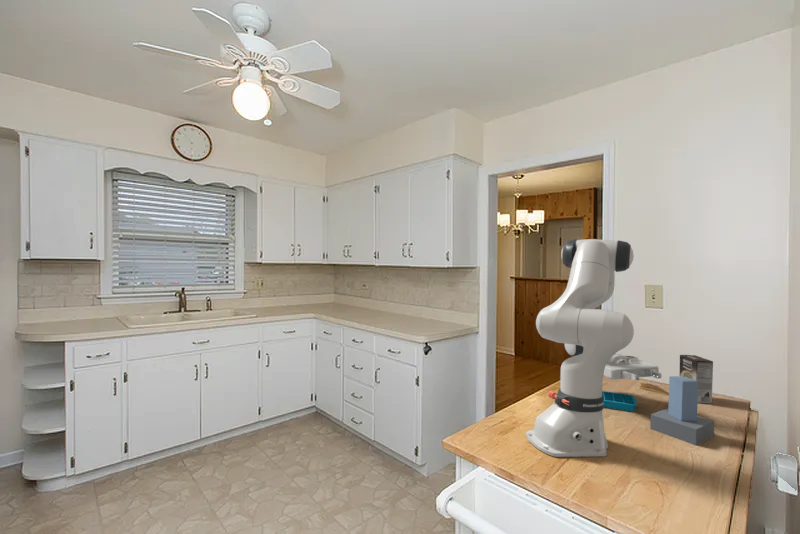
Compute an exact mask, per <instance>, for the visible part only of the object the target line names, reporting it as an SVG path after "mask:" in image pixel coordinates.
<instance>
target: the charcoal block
mask: <svg viewBox="0 0 800 534" xmlns="http://www.w3.org/2000/svg"><path fill="white" fill-rule="evenodd" d="M668 408H669V407H667V408H665V409H662V410H659V411H657V412H656V411H655V412H653V413H651V414H650V424H649V425H650V429H649V430H652V431H655V432H658V433H660V434H662V435H666V436H669V437H671V438H674V439H677V440H680V441H681V442H685V443H688V444H691V445H694V446H697V445H699V444H702V443H704V442H705V441H707V440H709V439H711V438H714V437H715V420H713V419H709V418H706V417H702V416H699V415H697V421H681V420H679V419H677V418H675V417H673V416H671V415H669V414H668Z"/></svg>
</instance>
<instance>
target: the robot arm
mask: <svg viewBox="0 0 800 534" xmlns="http://www.w3.org/2000/svg"><path fill="white" fill-rule="evenodd" d="M633 251H634V250H633V249H632V245H631V244H630V243H629V242H628V241H624V240H616V241H615V240H612V239H611V240H609V239H597V238H589V239H588V238H587V239H586V238H585V239H577V238H576V239H574V238H573V239H570V240H567V241H566V242H565V243H564V244H563V247H562V249H561V251H560V252H561V253H560V254H561V255H560V257H561V260H562V264H563V265H564V266H565V267H566V268H567V269H570V270H569V271H570V273H569V277H568V281H567V284H566V288H565V289H564V291H563V293H562V294H561V295H560V296H559V298H558V299H557V300H555V301H554V302H553V303H551V304H550V305H547V306H546V307H543V308H542V309H540V311H539V312H538V314H537V316H536V319H535V327H536V330H537V333H538V334H539V335H540V337H541V338H543V339H545V340H549V341H552V342H555V343H558V344H563V347H564V350H565V352H566V353H567V354H568V355H569V356H571V357H568V358H566V359H565V360H564V361H563V362H562V363H561V366H560V388H559V389H558V392H555V391H553V390H549V391H548V392H547V397H549V398H550V399H552V400H554V402H553V403H552V404H551V405H550V406H549V407H548V408H546V409H545V410H544V411H542V412H541V413H540V414H538V415H537V416H536V418H535V422H534V425H533V426H534V428H533V429H530V430H526V433H525V437H526V439H527V441H528V442H529V443H530V444H531V445H532V446H533V447H535V448H537V449H538V450H540V452H543V453H544V454H546V455H549V456H551V457H557V458H560V457H562V458H565V457H568V458H569V457H570V458H572V457H573V458H575V457H578V458H579V457H581V458H582V457H606V456H607V454H608V453H607V449H608V448H609V444H608V439H607V437H606V433H605V431H606V430H605V426H604V418H603V410H604V409H605V407H604V396H603V395H602V391H603V384H604V383H603V382H604V376H605V377H607V378H608V379H611V380H623V379H628V380H633V381H639V380H640V378H649V377H653V378H655V379H662V372H659V366H658V365H656V364H654V363H652V362H649V361H647V360H643V359H639V357H637V356H632V355H622V354H618V352H620V351H621V350H624V349H625V348H626V347H628V346H629V345H630V343H631V342H632V340H633V339H634V334H635V329H634V325H633V323H632V320H631V319H630V318H629V317H628V316H627V315H626V314H625V313H620V312H617V311H614V310H609V309H601V308H600V309H599V308H598V307H599V306H601V305H602V304H604V303H605V302H607V301H608V300H610V298H612V296H613V294H614V291H615V283H616V280H615V279H616V278H615V275H616V273H619V272H624V271H626V270H628V269H630V266H631V265H632V263H633V261H634V252H633ZM615 272H616V273H615ZM597 308H598V309H597Z"/></svg>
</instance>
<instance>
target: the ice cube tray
mask: <svg viewBox="0 0 800 534" xmlns="http://www.w3.org/2000/svg"><path fill="white" fill-rule="evenodd" d="M602 395H603V396H604V408H608V409H613V410H621V411H626V412H635V408H636V407H638V402H637V399H636V397H635V396H634V395H633V394H628V393H627V394H626V393H621V392H620V393H619V392H614V391H607V390H602Z"/></svg>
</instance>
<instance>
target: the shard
mask: <svg viewBox="0 0 800 534" xmlns="http://www.w3.org/2000/svg"><path fill="white" fill-rule="evenodd" d="M637 385H639V386H640V387H639V388H640V389H641V390H645V391H649V392H653V393H657V394H661V395H665V396H669V391H666V390H664V389H663V388H661V387H660V386H658V385H656V384H652V383H645V382H638V384H637Z"/></svg>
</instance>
